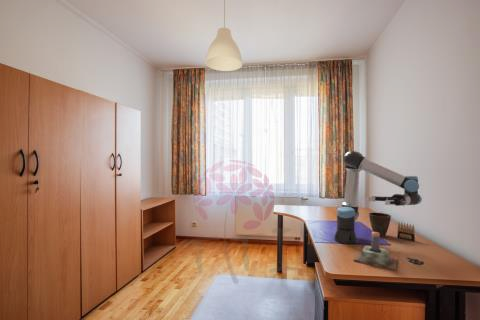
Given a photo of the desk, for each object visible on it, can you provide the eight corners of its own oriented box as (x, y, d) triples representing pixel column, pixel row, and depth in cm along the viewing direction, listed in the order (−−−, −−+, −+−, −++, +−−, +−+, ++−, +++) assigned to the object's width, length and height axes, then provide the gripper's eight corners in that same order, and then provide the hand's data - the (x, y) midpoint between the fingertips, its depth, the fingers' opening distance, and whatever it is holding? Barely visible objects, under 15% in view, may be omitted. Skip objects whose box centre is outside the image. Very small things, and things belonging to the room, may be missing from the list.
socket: (353, 261, 138) (353, 250, 138) (358, 252, 151) (358, 243, 151) (395, 270, 126) (395, 259, 126) (397, 260, 139) (397, 250, 139)
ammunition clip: (415, 240, 176) (415, 224, 176) (414, 241, 175) (414, 224, 175) (398, 237, 184) (398, 221, 184) (397, 237, 183) (397, 221, 183)
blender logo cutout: (404, 258, 144) (404, 257, 144) (418, 259, 143) (418, 258, 143) (412, 264, 134) (412, 263, 134) (428, 266, 133) (428, 264, 133)
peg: (370, 259, 138) (371, 232, 138) (371, 257, 141) (372, 231, 141) (378, 261, 136) (379, 234, 136) (379, 258, 139) (379, 232, 139)
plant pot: (391, 239, 179) (391, 217, 179) (368, 236, 186) (369, 215, 186) (389, 234, 193) (389, 213, 193) (368, 231, 199) (368, 211, 200)
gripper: (419, 208, 149) (394, 210, 142) (383, 202, 172) (360, 203, 165) (419, 196, 149) (394, 197, 142) (383, 191, 172) (360, 192, 166)
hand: (375, 200), depth 154 cm, fingers open, 13 cm apart
